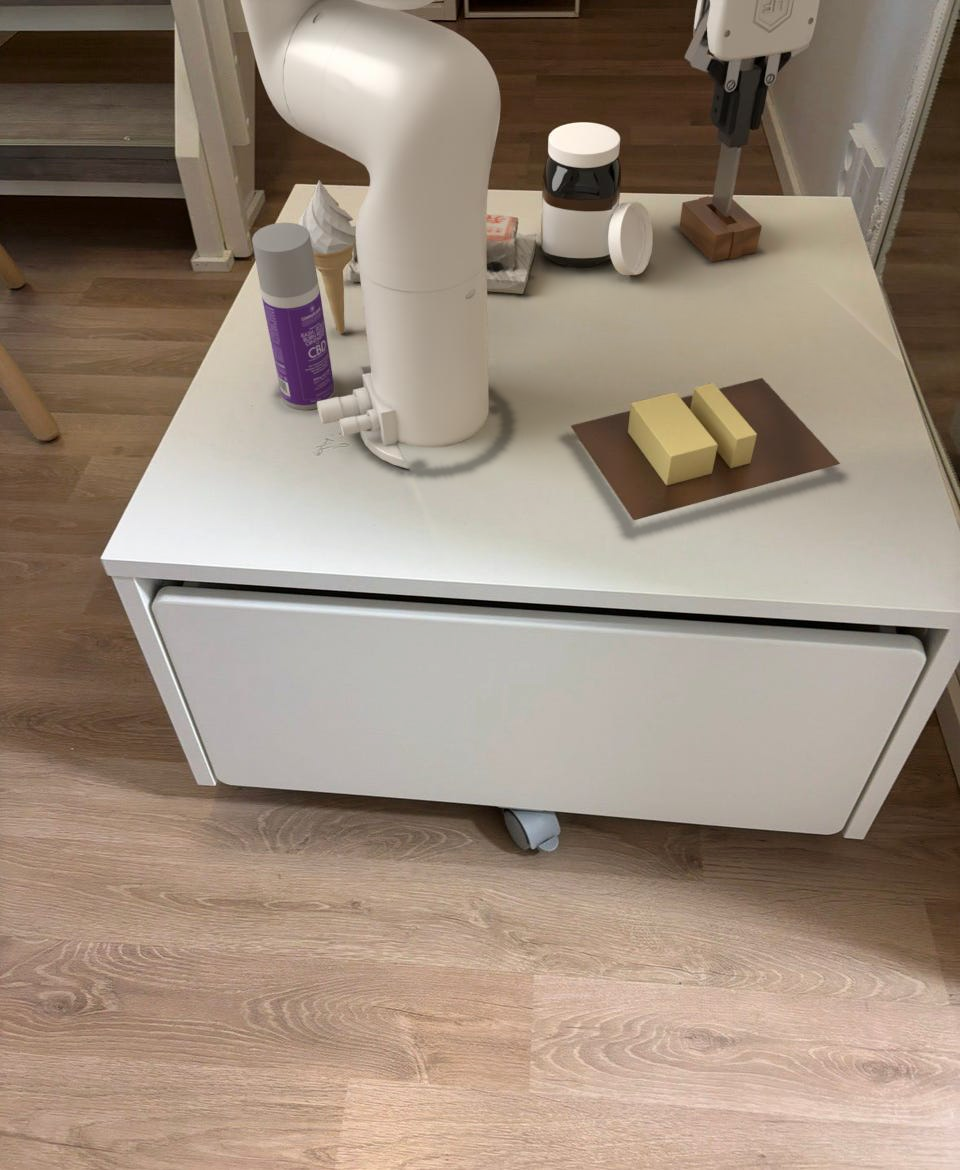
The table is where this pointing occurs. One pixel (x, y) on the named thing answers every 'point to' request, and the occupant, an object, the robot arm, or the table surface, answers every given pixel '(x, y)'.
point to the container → (294, 314)
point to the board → (774, 458)
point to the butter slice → (724, 425)
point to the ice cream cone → (330, 246)
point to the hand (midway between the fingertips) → (735, 125)
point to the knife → (736, 137)
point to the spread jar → (590, 203)
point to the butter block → (672, 438)
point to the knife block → (719, 229)
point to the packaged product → (495, 255)
